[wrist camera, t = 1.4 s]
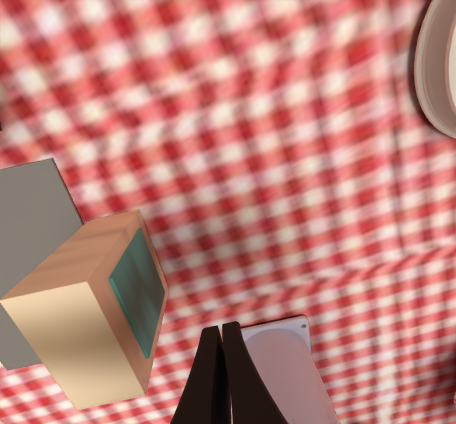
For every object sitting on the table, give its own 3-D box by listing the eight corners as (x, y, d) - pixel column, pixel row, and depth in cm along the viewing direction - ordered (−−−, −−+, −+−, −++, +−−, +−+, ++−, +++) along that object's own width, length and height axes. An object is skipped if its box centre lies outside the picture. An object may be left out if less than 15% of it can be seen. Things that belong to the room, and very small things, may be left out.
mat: (138, 340, 24) (138, 342, 24) (9, 368, 24) (7, 370, 24) (52, 158, 17) (51, 158, 17) (-127, 197, 17) (-131, 198, 17)
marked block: (171, 289, 22) (149, 394, 14) (125, 299, 22) (76, 410, 14) (141, 208, 19) (91, 280, 11) (89, 220, 19) (-2, 300, 11)
